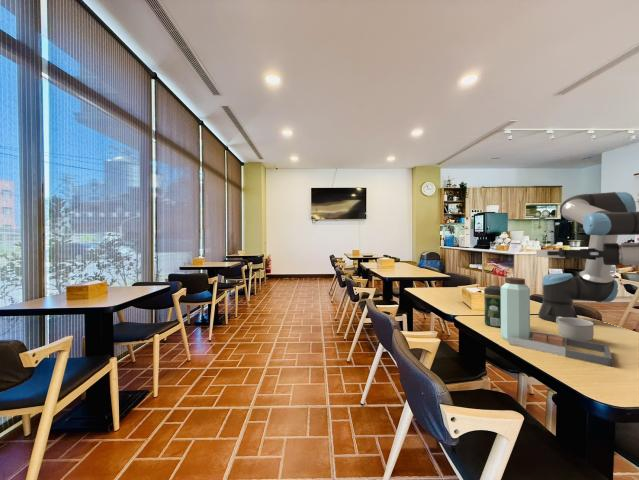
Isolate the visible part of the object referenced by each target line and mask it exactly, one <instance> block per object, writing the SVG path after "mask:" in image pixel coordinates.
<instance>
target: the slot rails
mask: <svg viewBox="0 0 639 480" xmlns="http://www.w3.org/2000/svg"><path fill="white" fill-rule="evenodd" d="M534 333H538V334H544V335H547V343H543V342H538V341H533V334H534ZM549 335H552V336H558V337H563V346H558V345H553V344H548V337H549ZM508 345H510V346H514V347H519V348H525V349H529V350H532V351H533V350H534V351H539V352H543V353H548V354H552V355H557V356H561V357H565V349H567V348H566V346H568V345H567V337H564V336H561V335H560V334H559V335H558V334H552V333H548V332H547V333H546V332H542V331H535V330H530V339H529V340H528V339H523V338H518V337H513V336H509V341H508Z"/></svg>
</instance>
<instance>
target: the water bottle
mask: <svg viewBox="0 0 639 480" xmlns="http://www.w3.org/2000/svg"><path fill="white" fill-rule="evenodd" d="M504 279H505V280H504V282H505V283H504V284H503V285H501V286H500V287H501V327H500V336H501V338H502V339H504V340H505V341H507V342H509V336H513V337H518V338H523V339H528V340H531V339H530V331H531V288H530V287H529V286H528V285H527V284H526V279H525V278H521V277H505V278H504Z"/></svg>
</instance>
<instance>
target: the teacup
mask: <svg viewBox="0 0 639 480" xmlns="http://www.w3.org/2000/svg"><path fill="white" fill-rule="evenodd" d="M555 323H556V324H557V326H558V333H559V336H564V337H567V338H570V339H576V340H581V341H587V342H591V341H592V340H593V338H594V334H595V332H594V325H595V323H594V322H593V321H590V320H588V319H585V318H584V319H583V318H569V317H557V318H556V322H555Z"/></svg>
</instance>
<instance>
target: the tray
mask: <svg viewBox="0 0 639 480" xmlns="http://www.w3.org/2000/svg"><path fill="white" fill-rule="evenodd" d="M566 346H570V347H575V348H579V349H585V350H590V351H596V352H601V353H603V355H604V356H603V355H599V354H594V353H589V352H583V351H578V350H573V349H569V348H566V349H565V356H564V357H566V358H569V359H573V360H578V361H584V362H588V363H593V364H598V365H601V366H602V365H603V366H606V367H613V357H612V354H611V350H610V346H609V345H608V344H604V343H603V344H602V343H597V342H592V341H588V342H587V341H581V340H576V339H570V338H567V345H566Z"/></svg>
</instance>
